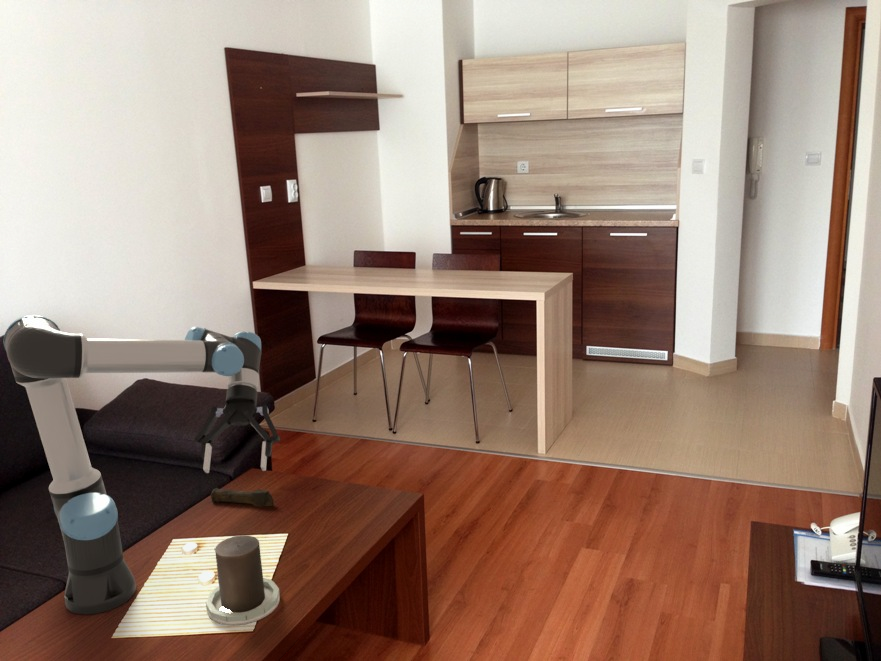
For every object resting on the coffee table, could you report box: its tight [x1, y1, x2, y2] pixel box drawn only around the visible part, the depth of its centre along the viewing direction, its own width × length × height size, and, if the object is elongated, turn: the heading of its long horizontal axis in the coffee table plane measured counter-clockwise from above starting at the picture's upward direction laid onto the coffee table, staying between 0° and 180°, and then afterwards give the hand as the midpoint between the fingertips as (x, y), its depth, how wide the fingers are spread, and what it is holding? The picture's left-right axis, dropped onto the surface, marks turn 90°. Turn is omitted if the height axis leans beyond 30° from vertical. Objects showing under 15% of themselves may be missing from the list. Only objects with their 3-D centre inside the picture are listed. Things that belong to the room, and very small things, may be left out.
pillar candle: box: [214, 534, 265, 612], centre depth 175 cm, size 10×10×15 cm
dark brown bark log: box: [210, 487, 275, 508], centre depth 225 cm, size 19×4×5 cm, turn 73°
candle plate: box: [205, 577, 281, 626], centre depth 177 cm, size 16×16×2 cm
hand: (234, 470), depth 187 cm, fingers open, 13 cm apart
